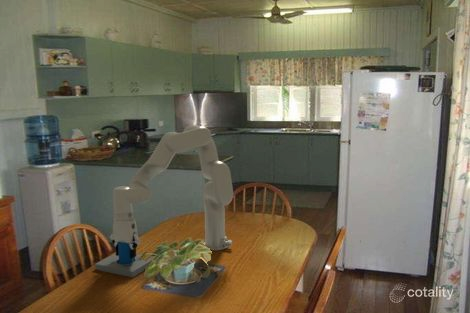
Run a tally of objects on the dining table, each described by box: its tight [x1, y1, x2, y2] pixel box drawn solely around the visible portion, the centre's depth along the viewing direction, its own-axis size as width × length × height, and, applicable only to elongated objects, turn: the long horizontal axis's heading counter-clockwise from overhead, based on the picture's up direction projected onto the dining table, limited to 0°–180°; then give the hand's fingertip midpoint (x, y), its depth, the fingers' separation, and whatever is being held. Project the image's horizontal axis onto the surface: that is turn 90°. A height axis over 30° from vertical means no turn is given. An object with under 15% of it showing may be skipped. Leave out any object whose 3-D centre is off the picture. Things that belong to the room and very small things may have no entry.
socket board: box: [94, 252, 153, 279], centre depth 181 cm, size 20×16×2 cm
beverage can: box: [118, 241, 135, 264], centre depth 180 cm, size 6×6×12 cm
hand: (126, 255), depth 180 cm, fingers open, 7 cm apart
